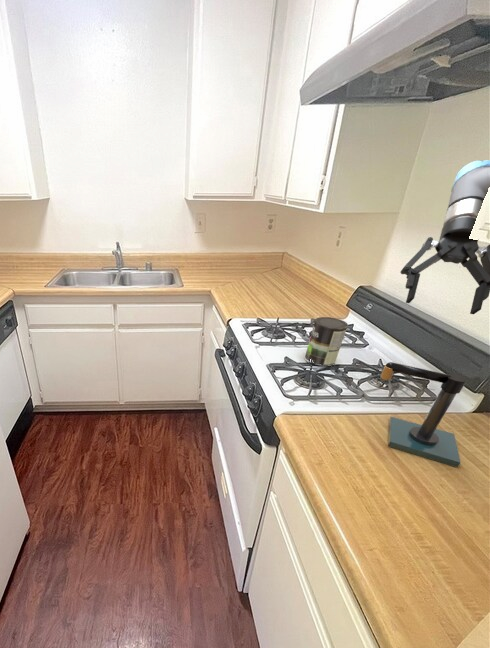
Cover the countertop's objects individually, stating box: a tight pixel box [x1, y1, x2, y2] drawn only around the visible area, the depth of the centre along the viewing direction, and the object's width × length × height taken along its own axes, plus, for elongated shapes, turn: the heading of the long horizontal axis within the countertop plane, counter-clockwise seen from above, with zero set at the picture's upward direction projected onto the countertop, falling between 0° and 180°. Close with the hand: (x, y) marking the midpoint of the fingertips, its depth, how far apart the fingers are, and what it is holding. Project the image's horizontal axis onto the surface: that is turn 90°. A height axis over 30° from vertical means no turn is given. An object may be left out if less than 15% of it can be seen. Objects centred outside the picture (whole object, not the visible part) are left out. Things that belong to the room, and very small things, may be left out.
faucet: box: [387, 388, 462, 468], centre depth 81 cm, size 14×12×15 cm
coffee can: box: [304, 316, 349, 366], centre depth 118 cm, size 10×10×14 cm
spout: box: [379, 361, 468, 395], centre depth 78 cm, size 15×4×4 cm, turn 60°
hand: (441, 306), depth 82 cm, fingers open, 13 cm apart
